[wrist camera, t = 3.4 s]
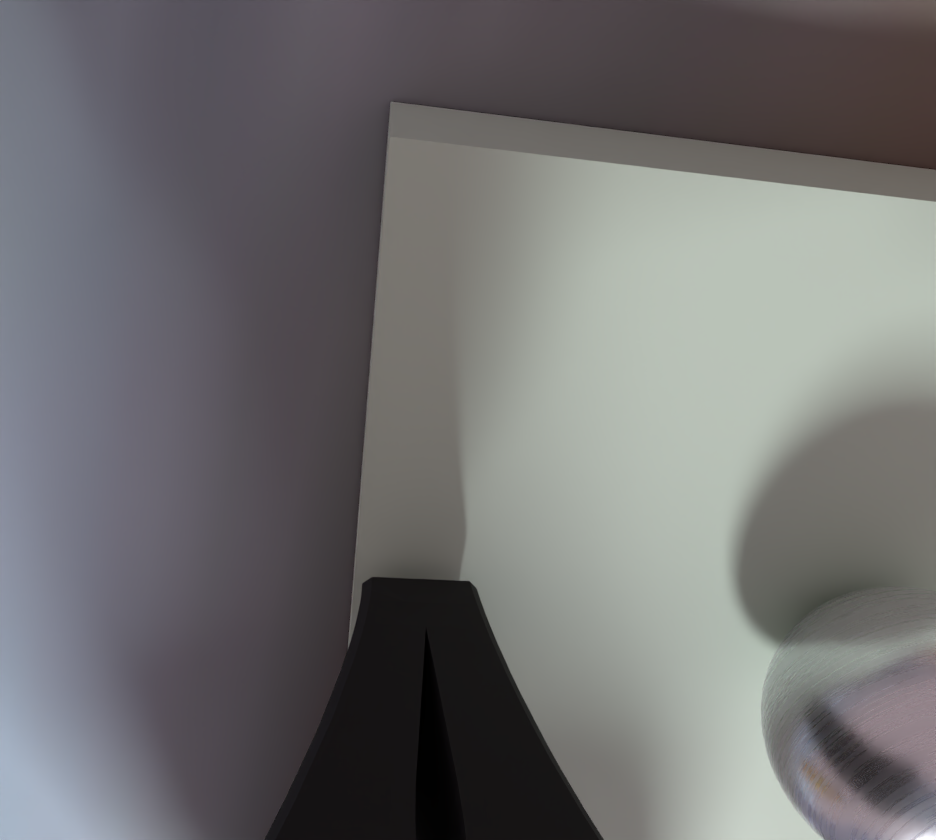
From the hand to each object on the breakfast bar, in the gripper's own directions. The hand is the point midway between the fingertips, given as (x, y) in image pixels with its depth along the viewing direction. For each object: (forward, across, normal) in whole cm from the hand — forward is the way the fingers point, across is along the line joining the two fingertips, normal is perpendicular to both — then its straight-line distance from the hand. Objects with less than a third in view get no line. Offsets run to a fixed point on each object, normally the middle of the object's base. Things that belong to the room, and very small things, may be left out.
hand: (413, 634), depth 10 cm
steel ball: (-1, -6, 0) cm, 6 cm away
